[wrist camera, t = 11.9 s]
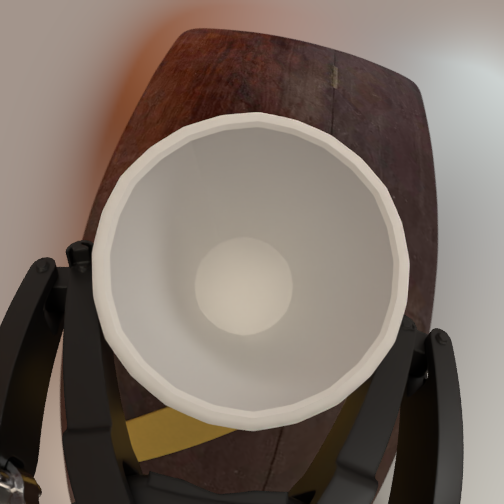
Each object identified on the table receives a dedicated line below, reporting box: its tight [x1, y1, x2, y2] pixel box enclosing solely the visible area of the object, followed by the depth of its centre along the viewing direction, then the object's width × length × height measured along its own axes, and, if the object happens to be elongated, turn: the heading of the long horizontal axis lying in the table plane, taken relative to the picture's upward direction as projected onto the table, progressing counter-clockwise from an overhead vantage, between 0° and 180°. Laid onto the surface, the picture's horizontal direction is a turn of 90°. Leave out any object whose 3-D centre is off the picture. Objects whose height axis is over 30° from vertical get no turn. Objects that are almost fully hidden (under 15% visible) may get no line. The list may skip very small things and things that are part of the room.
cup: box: [92, 112, 410, 431], centre depth 14 cm, size 10×10×13 cm
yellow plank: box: [125, 406, 237, 462], centre depth 23 cm, size 22×5×1 cm, turn 118°
